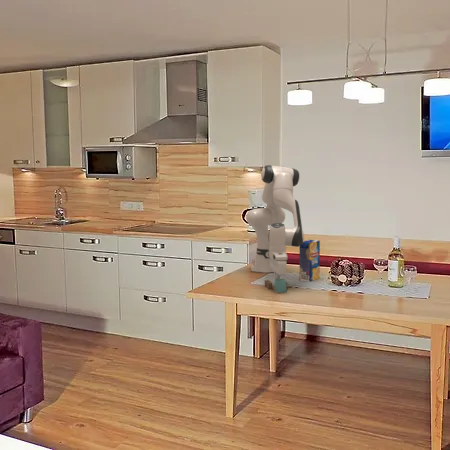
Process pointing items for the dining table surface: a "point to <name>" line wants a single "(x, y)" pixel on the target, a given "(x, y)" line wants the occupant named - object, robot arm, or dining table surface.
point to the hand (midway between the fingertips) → (277, 279)
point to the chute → (269, 285)
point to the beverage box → (310, 260)
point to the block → (280, 285)
